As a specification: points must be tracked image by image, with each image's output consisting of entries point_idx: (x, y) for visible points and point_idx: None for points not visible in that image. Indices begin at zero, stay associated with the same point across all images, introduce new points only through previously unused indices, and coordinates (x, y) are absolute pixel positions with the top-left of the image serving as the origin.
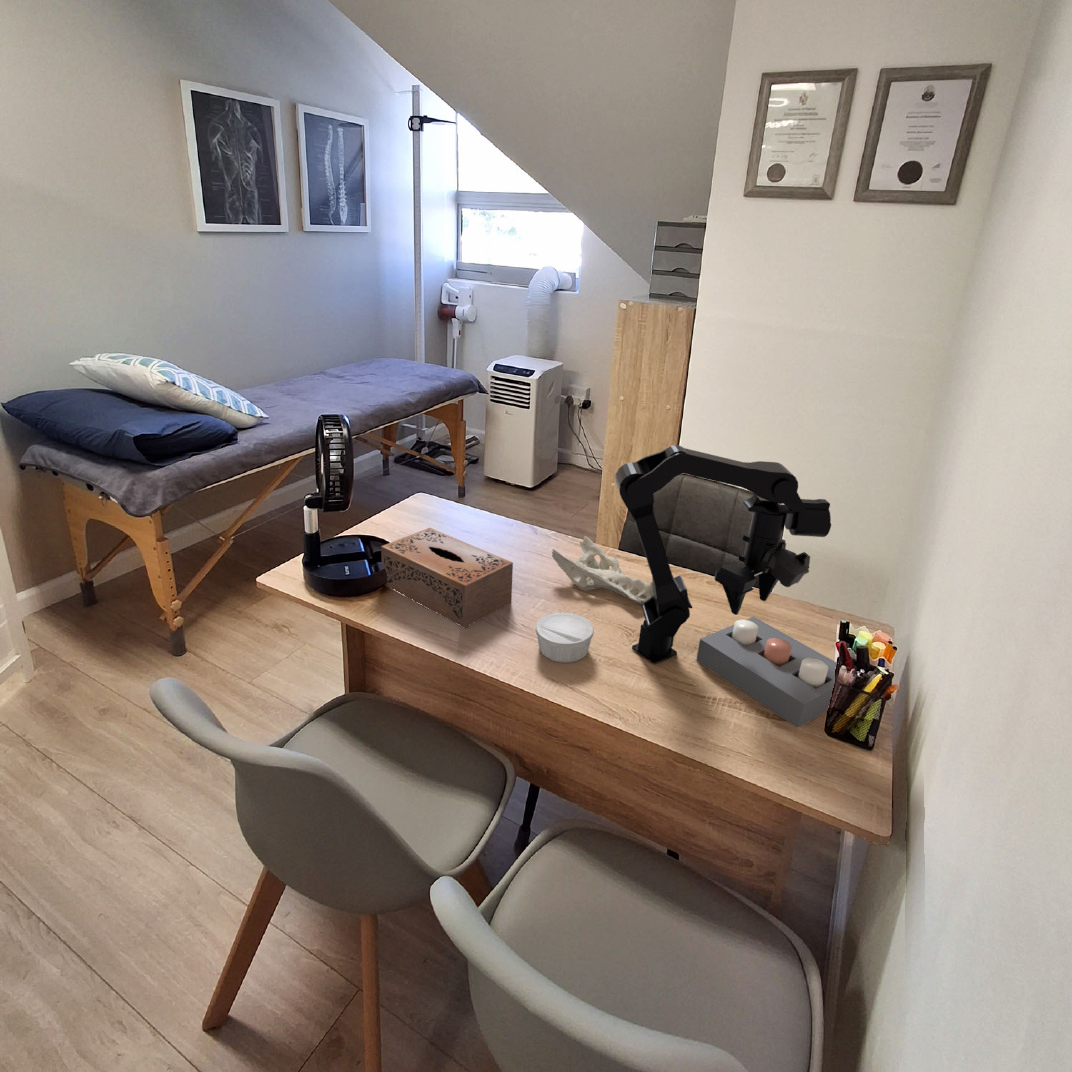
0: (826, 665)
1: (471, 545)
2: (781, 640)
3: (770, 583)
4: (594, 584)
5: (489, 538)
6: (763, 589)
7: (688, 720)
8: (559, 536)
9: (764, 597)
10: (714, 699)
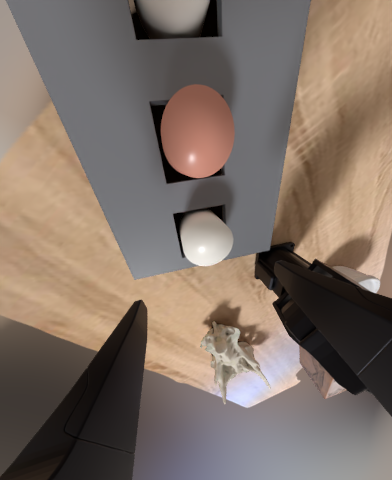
0: None
1: (329, 388)
2: (174, 153)
3: (110, 391)
4: (245, 348)
5: (250, 384)
6: (138, 347)
7: (363, 127)
8: (206, 390)
9: (140, 312)
10: (301, 150)
